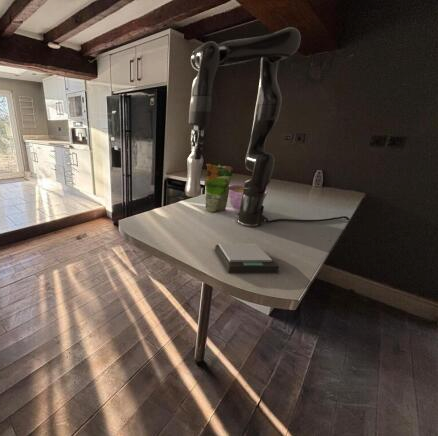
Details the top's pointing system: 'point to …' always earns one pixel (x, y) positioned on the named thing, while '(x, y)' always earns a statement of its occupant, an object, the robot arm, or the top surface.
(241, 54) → the robot arm
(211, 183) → the pouch
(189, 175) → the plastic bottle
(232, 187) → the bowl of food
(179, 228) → the top surface
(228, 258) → the scale
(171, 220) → the top surface
